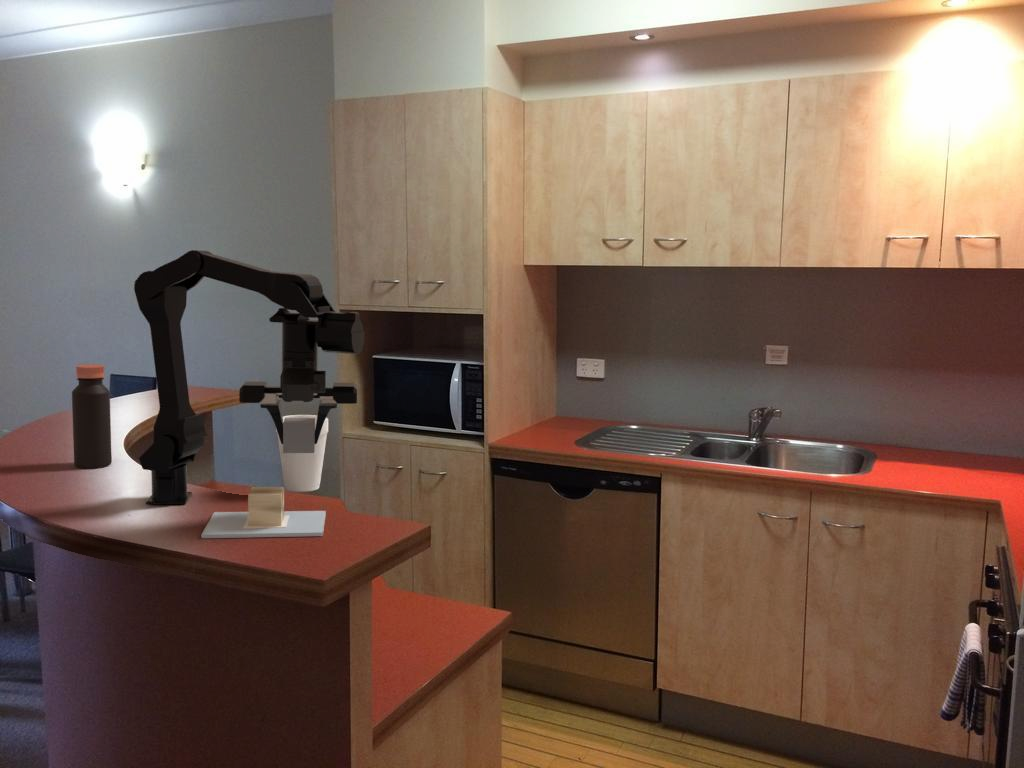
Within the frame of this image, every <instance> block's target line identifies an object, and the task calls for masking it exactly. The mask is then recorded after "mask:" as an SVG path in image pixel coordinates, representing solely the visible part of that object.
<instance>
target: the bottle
mask: <svg viewBox="0 0 1024 768" xmlns="http://www.w3.org/2000/svg"><path fill="white" fill-rule="evenodd" d="M104 367H105V366H104V365H103V364H80V365H77V366H76V380H77V381H78V384H77V386H76V387H75V388H74V389H73V390H72V391H71V408H72V412H71V413H72V434H73V435H72V439H73V443H72V444H73V465H74V466H75V467H76V468H79V469H85V470H86V469H89V470H90V469H101V468H105V467H108V466H111V465H112V461H113V460H112V428H111V423H112V422H111V395H110V394H111V393H110V390H109V388H108V387H106V386H105V385H104V383H103V380H104V377H105V368H104Z"/></svg>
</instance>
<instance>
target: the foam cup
mask: <svg viewBox="0 0 1024 768" xmlns="http://www.w3.org/2000/svg"><path fill="white" fill-rule="evenodd" d="M282 416H283V415H282ZM285 418H315V428H316V421H317V415H314V414H293V415H292V414H291V415H284V416H283V422H284V419H285ZM275 432H276V433H277V440H278V448H279V457H280V462H281V470H282V471H281V472H282V478H283V485H284V490H286V491H289V492H295V493H301V492H302V493H303V492H304V493H306V492H307V493H308V492H313V491H316V490H318V489H319V488H320V484H321V480H322V474H323V473H322V472H323V464H324V458H325V450H326V444H327V443H326V442H327V436H328V433H329V418H328V417H326V419H325V421H324V423H323V426H322V429H321V432H320V436H319V439H318V442H317V444H315V451H314V453H283V444H281V441H280V438H279V435H278V432H277V429H276V428H275Z"/></svg>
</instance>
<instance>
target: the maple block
mask: <svg viewBox="0 0 1024 768" xmlns="http://www.w3.org/2000/svg"><path fill="white" fill-rule="evenodd" d="M247 496H248V498H247V501H248V502H247V504H248V505H247V510H248V511H247V512H248V526H281V525H282V522H283V518H284V511H285V486H252V487H251V488H250V491H249V493H248V495H247Z"/></svg>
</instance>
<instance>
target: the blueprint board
mask: <svg viewBox="0 0 1024 768" xmlns="http://www.w3.org/2000/svg"><path fill="white" fill-rule="evenodd" d="M326 514H327V513H326V510H294V511H293V510H292V511H291V510H284V518H283V522H282V525H281V526H248V511H215V512H214V511H213V514H212V516H211V517H210V519H209V521H208V522H207V524H206V526H205V528H204V530H203V532H202V533H201V534H200V535H201V539H237V538H240V539H241V538H244V539H245V538H246V539H247V538H286V537H287V538H293V537H296V538H297V537H324V529H325V522H326V516H327V515H326Z"/></svg>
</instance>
